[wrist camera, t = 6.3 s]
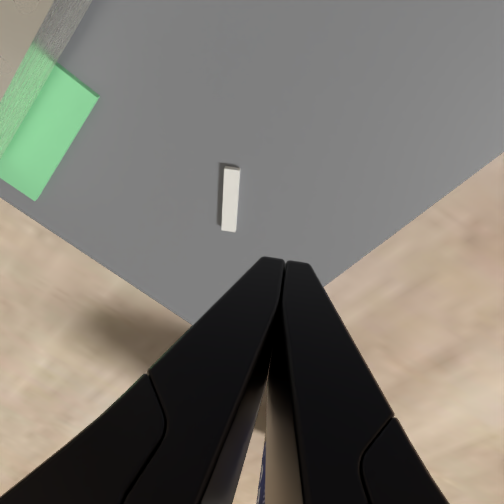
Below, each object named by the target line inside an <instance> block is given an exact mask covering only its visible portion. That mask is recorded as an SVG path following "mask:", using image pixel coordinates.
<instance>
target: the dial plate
mask: <svg viewBox="0 0 504 504" xmlns="http://www.w3.org/2000/svg"><path fill="white" fill-rule="evenodd" d="M503 152H504V0H93V1H92V2H91V4H90V6H89V8H88V9H87V11H86V13H85V15H84V16H83V18H82V20H81V21H80V23H79V25H78V27H77V28H76V30H75V32H74V33H73V35H72V37H71V39H70V40H69V42H68V44H67V45H66V47H65V49H64V51H63V52H62V54H61V56H60V57H59V59H58V61H57V63H56V64H55V66H54V68H53V70H52V71H51V73H50V75H49V76H48V78H47V80H46V82H45V83H44V85H43V87H42V88H41V90H40V92H39V94H38V95H37V97H36V99H35V100H34V102H33V104H32V106H31V107H30V109H29V111H28V112H27V114H26V116H25V118H24V119H23V121H22V123H21V125H20V126H19V128H18V130H17V131H16V133H15V135H14V137H13V138H12V140H11V142H10V143H9V145H8V147H7V149H6V150H5V152H4V154H3V155H2V157H1V159H0V198H2V199H3V200H5V201H6V202H8V203H9V204H11V205H12V206H14V207H15V208H17V209H18V210H20V211H21V212H23V213H24V214H26V215H27V216H29V217H30V218H32V219H33V220H35V221H36V222H38V223H39V224H41V225H42V226H44V227H45V228H47V229H48V230H50V231H51V232H53V233H54V234H56V235H58V236H59V237H61V238H62V239H64V240H65V241H67V242H68V243H70V244H71V245H73V246H74V247H76V248H77V249H79V250H80V251H82V252H83V253H85V254H86V255H88V256H89V257H91V258H92V259H94V260H95V261H97V262H98V263H100V264H101V265H103V266H104V267H106V268H107V269H109V270H110V271H112V272H113V273H115V274H116V275H118V276H119V277H121V278H122V279H124V280H125V281H127V282H128V283H130V284H131V285H133V286H134V287H136V288H137V289H139V290H140V291H142V292H143V293H145V294H146V295H148V296H149V297H151V298H152V299H154V300H155V301H157V302H158V303H160V304H161V305H163V306H164V307H166V308H167V309H169V310H170V311H172V312H173V313H175V314H176V315H178V316H179V317H181V318H182V319H184V320H185V321H187V322H188V323H190V324H191V325H193V324H194V323H195V322H196V321H197V320H198V319H199V318H200V317H201V316H202V315H203V314H204V313H205V312H206V311H207V310H208V309H209V308H210V307H211V306H212V305H214V304H215V303H216V302H217V301H218V300H219V299H220V298H221V297H222V296H223V295H224V294H225V293H226V292H227V291H228V290H229V289H230V288H231V287H232V286H233V285H234V284H235V283H236V282H237V281H238V280H239V279H240V278H241V277H242V276H243V275H244V274H245V273H246V272H247V271H248V270H249V269H250V268H251V267H252V266H253V265H254V264H255V263H256V262H257V261H258V260H259V259H260V258H261V257H263V256H267V257H274V258H280V259H283V260H284V261H285V264H286V262H287V261H288V260H293V261H299V262H305V263H309V264H310V265H311V266H312V268H313V270H314V272H315V273H316V275H317V277H318V279H319V281H320V282H321V284H322V286H323V287H324V286H325V285H327V284H328V283H329V282H331V281H332V280H333V279H335V278H336V277H337V276H339V275H340V274H341V273H343V272H344V271H345V270H347V269H348V268H349V267H351V266H352V265H353V264H355V263H356V262H357V261H359V260H360V259H361V258H363V257H364V256H365V255H367V254H368V253H369V252H371V251H372V250H373V249H375V248H376V247H377V246H379V245H380V244H381V243H383V242H384V241H385V240H387V239H388V238H389V237H391V236H392V235H393V234H395V233H396V232H397V231H399V230H400V229H401V228H403V227H404V226H405V225H407V224H408V223H409V222H411V221H412V220H414V219H415V218H416V217H418V216H419V215H420V214H422V213H423V212H424V211H426V210H427V209H428V208H430V207H431V206H432V205H434V204H435V203H436V202H438V201H439V200H440V199H442V198H443V197H444V196H446V195H447V194H448V193H450V192H451V191H452V190H454V189H455V188H456V187H458V186H459V185H460V184H462V183H463V182H464V181H466V180H467V179H468V178H470V177H471V176H472V175H474V174H475V173H476V172H478V171H479V170H480V169H482V168H483V167H484V166H486V165H487V164H488V163H490V162H491V161H492V160H494V159H495V158H496V157H498V156H499V155H500V154H502V153H503Z"/></svg>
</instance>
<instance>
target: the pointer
mask: <svg viewBox="0 0 504 504" xmlns="http://www.w3.org/2000/svg"><path fill="white" fill-rule="evenodd" d="M92 1H93V0H0V159H1V157H2V155H3V154H4V152H5V150H6V149H7V147H8V145H9V143H10V142H11V140H12V138H13V137H14V135H15V133H16V131H17V130H18V128H19V126H20V125H21V123H22V121H23V119H24V118H25V116H26V114H27V112H28V111H29V109H30V107H31V106H32V104H33V102H34V100H35V99H36V97H37V95H38V94H39V92H40V90H41V88H42V87H43V85H44V83H45V82H46V80H47V78H48V76H49V75H50V73H51V71H52V70H53V68H54V66H55V64H56V63H57V61H58V59H59V57H60V56H61V54H62V52H63V51H64V49H65V47H66V45H67V44H68V42H69V40H70V39H71V37H72V35H73V33H74V32H75V30H76V28H77V27H78V25H79V23H80V21H81V20H82V18H83V16H84V15H85V13H86V11H87V9H88V8H89V6H90V4H91V2H92Z"/></svg>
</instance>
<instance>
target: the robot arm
mask: <svg viewBox="0 0 504 504" xmlns="http://www.w3.org/2000/svg"><path fill="white" fill-rule="evenodd" d="M269 365H270V366H269ZM268 370H269V374H268ZM267 376H268V382H267V414H266V470H265V504H449V502H448V501H447V499H446V498H445V496H444V495H443V493H442V492H441V490H440V489H439V487H438V486H437V484H436V483H435V481H434V480H433V478H432V477H431V475H430V474H429V472H428V470H427V469H426V467H425V465H424V464H423V462H422V460H421V459H420V457H419V455H418V454H417V452H416V450H415V449H414V447H413V445H412V444H411V442H410V440H409V438H408V437H407V435H406V433H405V431H404V429H403V428H402V426H401V424H400V422H399V420H398V419H397V418H393V417H394V412H393V410H392V408H391V407H390V405H389V403H388V401H387V400H386V398H385V396H384V394H383V392H382V391H381V389H380V387H379V385H378V384H377V382H376V380H375V378H374V376H373V375H372V373H371V371H370V369H369V368H368V366H367V364H366V362H365V360H364V359H363V357H362V355H361V353H360V352H359V350H358V348H357V346H356V344H355V343H354V341H353V339H352V337H351V336H350V334H349V332H348V330H347V329H346V327H345V325H344V323H343V321H342V320H341V318H340V316H339V314H338V313H337V311H336V309H335V307H334V305H333V304H332V302H331V300H330V298H329V297H328V295H327V293H326V291H325V289H324V288H323V286H322V284H321V282H320V281H319V279H318V277H317V275H316V273H315V272H314V270H313V268H312V266H311V265H310V264H309V263H305V262H299V261H293V260H288V261H287V262H286V264H285V261H284V260H283V259H280V258H274V257H267V256H263V257H261V258H260V259H259V260H258V261H257V262H256V263H255V264H254V265H253V266H252V267H251V268H250V269H249V270H248V271H247V272H246V273H245V274H244V275H243V276H242V277H241V278H240V279H239V280H238V281H237V282H236V283H235V284H234V285H233V286H232V287H231V288H230V289H229V290H228V291H227V292H226V293H225V294H224V295H223V296H222V297H221V298H220V299H219V300H218V301H217V302H216V303H215V304H214V305H212V306H211V307H210V308H209V309H208V310H207V311H206V312H205V313H204V314H203V315H202V316H201V317H200V318H199V319H198V320H197V321H196V322H195V323H194V324H193V325H192V326H191V327H190V328H189V329H188V330H187V331H186V332H185V333H184V334H183V335H182V336H181V337H180V338H179V339H178V340H177V341H176V342H175V343H174V344H173V345H172V346H171V347H170V348H169V349H168V350H167V351H166V352H165V353H164V354H163V355H162V356H161V357H160V358H159V359H158V360H157V361H156V362H155V363H154V364H153V365H152V366H151V367H150V368H149V369H148V370H147V374H143V375H142V376H141V377H140V378H139V379H138V380H137V381H136V382H135V383H134V384H133V385H132V386H131V387H130V388H129V389H128V390H127V391H126V392H125V393H124V394H123V395H122V396H121V397H120V398H118V399H117V400H116V401H115V402H114V403H113V404H112V405H111V406H110V407H109V408H108V409H107V410H106V411H105V412H104V413H102V414H101V415H100V416H99V417H98V418H97V419H96V420H95V421H93V422H92V423H91V424H90V425H89V426H87V427H86V428H85V429H84V430H83V431H81V432H80V433H79V434H78V435H77V436H75V437H74V438H73V439H72V440H71V441H69V442H68V443H67V444H66V445H65V446H63V447H62V448H61V449H60V450H58V451H57V452H56V453H55V454H53V455H52V456H51V457H50V458H48V459H47V460H46V461H44V462H43V463H42V464H41V465H39V466H38V467H37V468H36V469H34V470H33V471H32V472H31V473H29V474H28V475H27V476H26V477H24V478H23V479H22V480H21V481H19V482H18V483H17V484H16V485H14V486H13V487H12V488H11V489H9V490H8V491H7V492H6V493H4V494H3V495H2V496H1V497H0V504H232V502H233V499H234V495H235V492H236V488H237V485H238V481H239V478H240V474H241V471H242V467H243V464H244V460H245V457H246V453H247V450H248V446H249V443H250V439H251V436H252V432H253V429H254V425H255V422H256V418H257V415H258V411H259V408H260V404H261V401H262V397H263V394H264V390H265V386H266V381H267Z"/></svg>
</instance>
